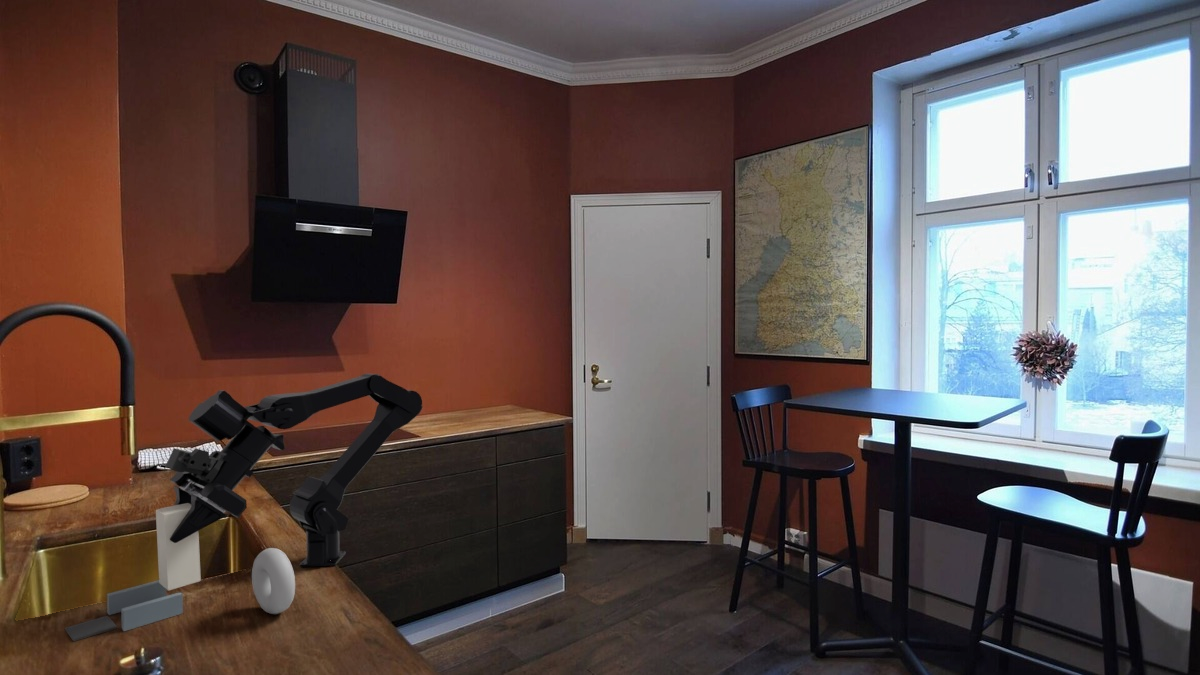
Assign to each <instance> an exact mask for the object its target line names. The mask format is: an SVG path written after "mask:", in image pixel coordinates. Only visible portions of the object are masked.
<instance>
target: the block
mask: <svg viewBox="0 0 1200 675" xmlns="http://www.w3.org/2000/svg"><path fill="white" fill-rule="evenodd" d="M190 508H191V504H189V503H185V504H180V505H175V506H174V505H171V506H167V507H166V506H165V507H161V508H157V509H155V521H156V522H155V524H156V540H157V541H156V543H157V562H158V563H157V564H158V580H159V583H160V584H161V585H162V586H163V587H164V588H166V591H172V590H175V589H179V588H181V587H185V586H188V585H192V584H195V583H198V582H201V580H202V578H201V561H200V560H201V558H200V557H201V556H200V541H199V540H200V536H199V531H197V532H195V533H193V534H191V535H190V536H188V537H186V538H184V539H182V540H181V541H179V542H177V543H174V542H172V541H170V538H171V536H172V534H173V533H174V531H175V530H176V528H177V527H178V526H179V524H180V523H181V521H182V520H183V518H184V517H185V516H186V514H187V513H188V511H189V510H190Z"/></svg>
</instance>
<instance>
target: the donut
mask: <svg viewBox="0 0 1200 675" xmlns="http://www.w3.org/2000/svg"><path fill="white" fill-rule="evenodd" d="M251 581H252V582H251V584H252V590H253V594H254V596H255V599H256V601H257V603H258V605H259V606H260V608H261V609H263V611H264V612H266V613H269V614H271V615H279V614H281V613H283V612H284V611H287V610H288V609H289V608H290V606H291V604H292V602H293V600H294V598H295V595H296V594H295V593H296V578H295V572H294V568H293V565H292V563H291V561H290V559H289V558H288V556H287V554H286V553H285V552H284V551H282V550H280V549H279V548H275V547H268V548H266V549H264V550H262V551H261V552H259V553H258V554H257V556H256V557H255V559H254V561H253V565H252V570H251Z"/></svg>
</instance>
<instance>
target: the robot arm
mask: <svg viewBox="0 0 1200 675" xmlns="http://www.w3.org/2000/svg"><path fill="white" fill-rule="evenodd" d="M365 397H369V398H370V399H372V400H373V401H374V402H376V403H377V404H378V405H377V406H376V409H375V413H374V417H373V418H372V420H371V421H370V422H369V423H368V425H367V426H366V427H365V428H364V429H363V431H362V432H360V434H359V435H358V436H357V437H356V439H354V440H353V442H352V443H351V444H350V446H348V447H347V448H346V450H345V451H344V452H343V453H342V454H341V455H340V457H338V459H337V460H336V461H335V462H334V463H333V465H332V466H330V468H329V469H328V470H327V471H326V473H324V474H323V475H321V476H320V477H318V478H316V477H313V476H311V475H310V476H308V477H306V478H305V480H304V481H303V483H302V484H301V485H300V487H299V488H297V489H296V490H294V491H293V492H292V494H293V497H292V498H291V499H290V502H289V513H290V515H291V516H292V517H293V519H295V520H297V521H298V523H299V526H300V527H301V528H305V529H306V531H305V533H306V534H305V535H306V557H305V558H304V559H303V560H302V561H301V562H300V563H299V567H301V568H302V567H303V568H304V567H326V566H327V567H328V566H329V567H330V566H336V565H338V563H339V562H340V561H341V559H342V558H343V557H344V556H346V552H347V551H345V550H340V532H341V531H344V530H346V528H347V525H348V522H349V518H348V517H347V516H346V515H345V514H343V513H342V512H340V511H339V510H338V509H339V507H340V506H341V505H342V503H343V502H342V501H343V498H344V495H345V491H346V489H347V487H348V486H349V485H350V483H352V481H353V480H354V479H355V478H356V477H357V475H358V474H359V473H360V472H361V471H362V469H364V467H365V466H366V465H367V464H368V462H369V461H370V460H371V459H372V458H373V456H374V455H375V454H376V453H377V452H378V450H379V449H380V448H381V447H382V446H383V444H384V443H385V442H387V440H388V438H389V437H390V436H391V435H392V434H393V433H394V432H395V431H398V430H400V429H401V428H403V427H405V426H406V425H408V424H409V423H410V422H412V421H413V420H414V419H415V418H416V417H417V416H419V414H420V413H421V411H422V410H423V399H422V396H421V395H420V393H419V392H418V391H415V390H412V389H411V390H410V389H406V388H404V387H402V386H400V385H398V384H396V383H394V382H392V381H390V380H388V379H387V378H385V377H383V376H382V375H381V374H378V373H370V372H369V373H364V374H361V375H360V376H357V377H354V378H350V379H346V380H343V381H340V382H337V383H336V382H335V383H333V384H329V385H326V386H323V387H319V388H316V389H312V390H309V391H302V392H291V393H290V392H287V393H280V394H270V395H266V396H265V397H263V398H261V399H260V401H259V403H256V404H251V405H246V406H243V405H242V404H241V403H239V402H238V401H237V400H235V399H234V398H233V397H232V395H231V394H230V393H228V392H227V391H226V390H222V389H221V390H220V389H219V390H218V391H217V392H216V393H215V394H212V395H211V396H209V397H208V398H207V399H205V400H204V401H203V402H200V403H199V404H198V405H196V407H195V408H194V409H193V410H192V412H191V413H190V415H188V416H189V417H188V421H189V422H191V423H192V424H193V425H194V426H196V427H198V428H199V429H200V430H201V431H203V432H204V433H205V434H207V435H208V436H210V437H211V438H213V439H214V440H215V441H216V442H219V441H223V440H224V439H226V440H227V441H229V442H228V443H226V445H225V446H224V447H223V448H222V450H221V451H220V450H215V451H212V452H211V453H210V452H209V451H207V450H203V449H200V448H194V450H192V451H188V450H183V449H180V448H179V449H178V448H173V449H172V451H171V453H170V455H169V458H168V460H167V461H166V465H165V468H167V469H168V468H169V469H170V470H171V471H174V472H175V474H174V475H173V476H172V477H171V478H170V479H169V481H170V482H171V483H173V484H175V485H174V487H173V489H174V492H175V497H176V498H175V503H174V505H173V506H175V505H180V504H185V503H189V504H191V508H190V510H189V511H188V513H187V514H186V516H185V517H184V518H183V520H182V521H181V523H180V524H179V526H178V527H177V528H176V530H175V531H174V533H173V534H172V536H171V538H170V541H172V542H174V543H177V542H179V541H181V540H182V539H184V538H186V537H188V536H190V535H191V534H193V533H195V532H197V531H198V532H199V531H201V530H202V529H204V528H206V527H208V526H210V525H212V524H214V523H216V522H218V521H220V520H221V519H226V518H228V515H227V513H226V511H227V512H228V513H229V514H230V515H231V516H234V517H235V518H239V519H240V517H241V515H242V514H243V513H244V512H245V511H246V509H247V507H248V506H247V499H245V498H244V497H242V496H241V495H240V494H238V493H236V492H235V491H234V490H235V489H236V488H237V487H238V485H239V484H241V481H243V479H245V477H247V478H251V477H252V475H253V474H254V472H253V471H252V469H253V468H254V467H255V465H256V464H257V463H258V462H259V461H260V460H261V458H262V457H263V456H264V455H265V454H266V453H267V451H268V450H269V449H271V447H272V448H273V449H275V450H279V451H284V450H285V448H286V446H285V442H284V437H285V435H284V434H281V433H276V434H275V433H273V432H272V431H271V430H269V429H268V428H267V427H270V428H274V429H275V428H276V429H279V430H289V429H292V428H294V427H296V426H297V425H300V424H301V423H303V422H305V421H307V420H308V419H309V418H311V417H313V416H314V415H315V414H317V413H319V412H322V411H325V410H327V409H330V408H333V407H337V406H339V405H342V404H346V403H349V402H352V401H355V400H358V399H361V398H365ZM248 420H249V421H248ZM250 421H254V422H259V423H260V424H261V425H259V426H255V425H254V424H253V423H251V422H250ZM266 426H267V427H266ZM209 453H210V454H209ZM176 485H177V486H176ZM330 560H331V561H330Z"/></svg>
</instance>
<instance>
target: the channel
mask: <svg viewBox="0 0 1200 675" xmlns="http://www.w3.org/2000/svg"><path fill="white" fill-rule="evenodd" d="M183 594H184V593H182V592H179V591H178V592H176V593H172V594H168V595H167V589H166V588H164V587H163V586H162V585H161V584H160V583H159V579H158V580H155V581H151V582H148V583H147V582H146V583H143V584H139V585H136V586H132V587H128V588H124V589H120V590H116V591H112V592H108V593H107V594H106V601H107V602H106V604H107V605H106V607H107V609H106V610H107V612H106V613H107V614H108V616H111V615H115V614H118V613H121V616H120V618H121V620H120V621H121V630H122V632H126V631H130V630H133V629H137V628H139V627H143V626H146V625H149V624H152V623H157V622H159V621H162V620H165V619H168V618H169V619H170V618H171V617H172V618H173V617H175V616H178V615H183V614H184V607H183V606H184V605H183V604H184V603H183V602H184V600H183V598H184V596H183Z"/></svg>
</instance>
